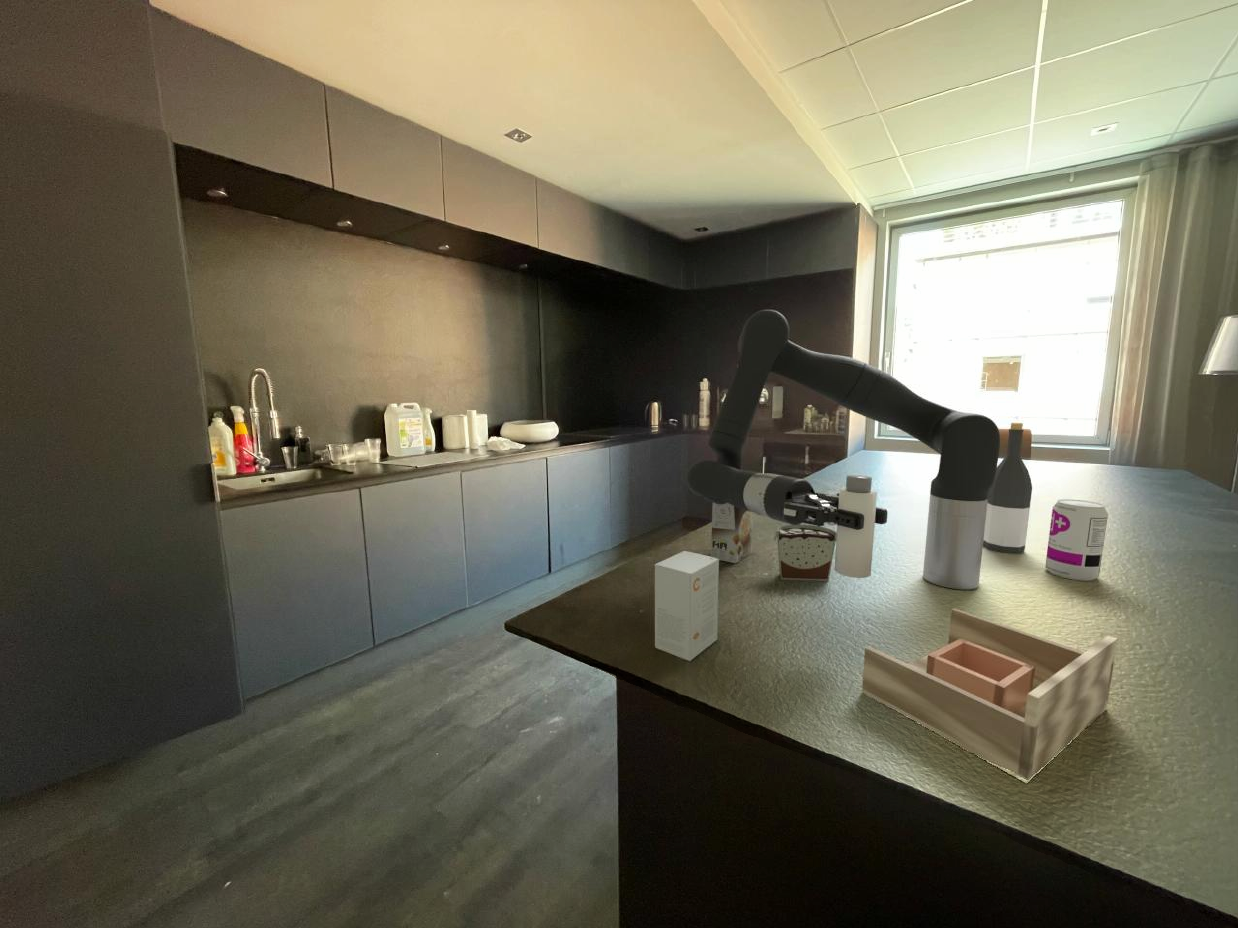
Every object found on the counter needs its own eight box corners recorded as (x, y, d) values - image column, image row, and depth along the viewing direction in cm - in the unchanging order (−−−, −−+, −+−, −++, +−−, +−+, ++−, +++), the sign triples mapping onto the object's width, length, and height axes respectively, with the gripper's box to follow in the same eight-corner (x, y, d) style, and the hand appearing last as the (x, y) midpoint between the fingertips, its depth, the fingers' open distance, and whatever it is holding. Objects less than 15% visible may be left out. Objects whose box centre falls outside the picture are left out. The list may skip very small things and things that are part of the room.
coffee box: (736, 564, 107) (739, 492, 105) (710, 558, 111) (711, 489, 109) (752, 553, 115) (754, 485, 113) (726, 548, 119) (728, 482, 116)
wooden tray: (950, 646, 72) (956, 588, 71) (1106, 709, 58) (1117, 638, 57) (861, 692, 62) (866, 625, 60) (1027, 784, 47) (1038, 698, 46)
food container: (826, 569, 104) (829, 524, 102) (836, 580, 98) (839, 532, 96) (767, 568, 105) (768, 522, 104) (773, 578, 99) (775, 530, 98)
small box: (682, 627, 79) (684, 549, 77) (718, 640, 75) (720, 558, 73) (653, 647, 73) (653, 563, 71) (689, 662, 69) (691, 573, 67)
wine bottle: (973, 543, 121) (986, 422, 117) (1003, 542, 122) (1016, 421, 118) (1002, 554, 113) (1016, 424, 109) (1033, 553, 114) (1049, 423, 110)
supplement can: (1054, 578, 98) (1064, 505, 96) (1038, 565, 106) (1046, 497, 104) (1107, 584, 95) (1118, 509, 93) (1086, 570, 103) (1095, 500, 101)
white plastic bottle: (847, 563, 75) (854, 473, 73) (877, 573, 71) (885, 478, 68) (827, 569, 72) (833, 476, 70) (857, 580, 68) (864, 481, 66)
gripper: (747, 479, 78) (843, 499, 64) (807, 471, 85) (905, 487, 71) (745, 525, 79) (840, 554, 65) (805, 513, 87) (901, 537, 72)
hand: (873, 519), depth 68 cm, fingers closed on white plastic bottle, 4 cm apart
